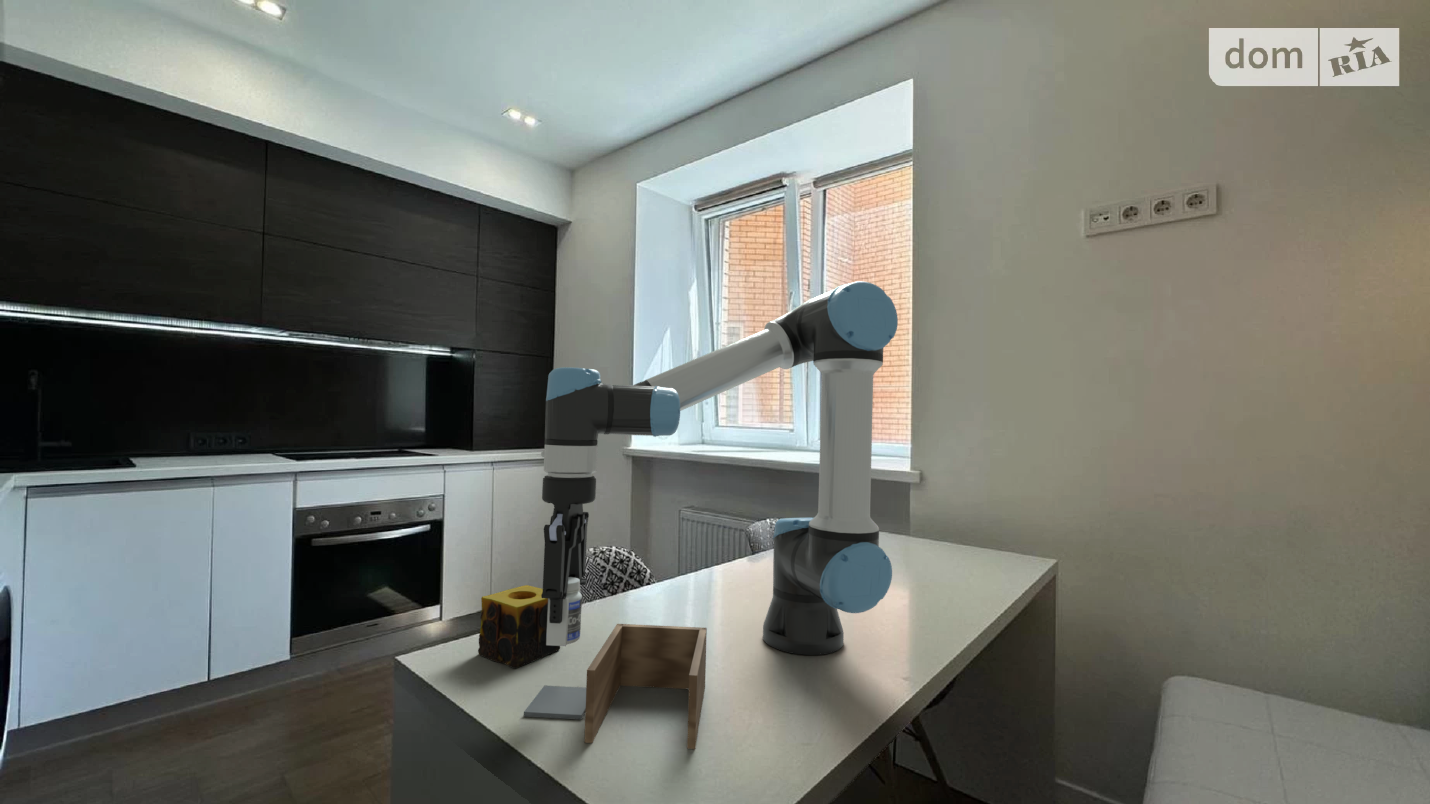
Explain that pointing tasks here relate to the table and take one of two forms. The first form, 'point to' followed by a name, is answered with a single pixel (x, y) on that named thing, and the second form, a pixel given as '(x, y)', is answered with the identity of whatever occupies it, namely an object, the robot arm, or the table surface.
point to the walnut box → (647, 669)
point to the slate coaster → (558, 703)
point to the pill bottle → (573, 610)
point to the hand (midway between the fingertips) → (563, 637)
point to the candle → (514, 626)
